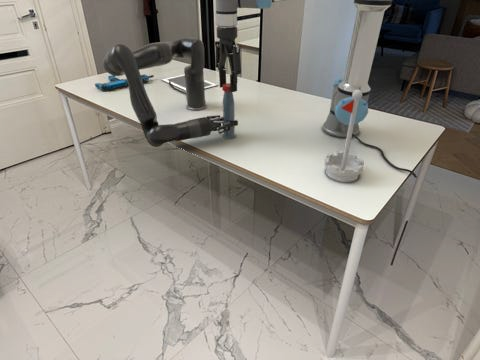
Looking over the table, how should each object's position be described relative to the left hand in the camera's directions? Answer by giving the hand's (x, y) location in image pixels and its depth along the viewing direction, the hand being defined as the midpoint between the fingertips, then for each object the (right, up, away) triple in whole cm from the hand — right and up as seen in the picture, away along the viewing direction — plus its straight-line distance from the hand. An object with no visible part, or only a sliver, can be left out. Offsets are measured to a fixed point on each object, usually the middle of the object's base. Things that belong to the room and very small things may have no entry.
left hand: (234, 120), depth 143 cm
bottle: (-2, -6, +3) cm, 7 cm away
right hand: (-2, +11, -9) cm, 14 cm away
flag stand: (+38, -23, -23) cm, 50 cm away
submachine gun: (-69, +35, +66) cm, 102 cm away
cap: (-2, +12, -9) cm, 15 cm away
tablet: (-29, +34, +65) cm, 79 cm away
